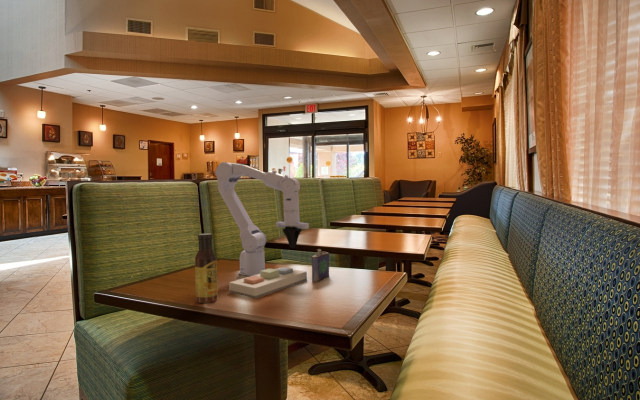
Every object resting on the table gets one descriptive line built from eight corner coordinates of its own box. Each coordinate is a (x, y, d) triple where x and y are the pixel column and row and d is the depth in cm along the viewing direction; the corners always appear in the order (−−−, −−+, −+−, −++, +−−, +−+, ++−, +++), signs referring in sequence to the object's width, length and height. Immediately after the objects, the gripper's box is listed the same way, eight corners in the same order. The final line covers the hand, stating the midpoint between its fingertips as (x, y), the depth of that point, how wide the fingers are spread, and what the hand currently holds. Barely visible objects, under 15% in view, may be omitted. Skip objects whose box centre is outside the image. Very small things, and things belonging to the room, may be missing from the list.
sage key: (260, 279, 122) (260, 271, 122) (269, 276, 126) (269, 268, 125) (269, 281, 119) (269, 272, 119) (279, 278, 123) (278, 269, 123)
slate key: (275, 277, 128) (275, 269, 128) (284, 275, 131) (283, 267, 131) (284, 279, 125) (284, 271, 125) (293, 276, 128) (293, 268, 128)
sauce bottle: (211, 304, 105) (208, 235, 104) (191, 303, 107) (188, 235, 106) (222, 297, 112) (219, 232, 111) (203, 296, 113) (200, 232, 112)
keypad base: (229, 292, 117) (229, 282, 117) (281, 276, 136) (281, 267, 136) (255, 298, 109) (254, 288, 109) (306, 280, 128) (306, 271, 128)
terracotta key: (244, 287, 117) (243, 278, 116) (254, 284, 120) (254, 275, 120) (253, 289, 114) (253, 280, 114) (263, 286, 117) (263, 277, 117)
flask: (316, 282, 125) (315, 251, 125) (309, 281, 127) (308, 251, 126) (331, 276, 133) (330, 247, 132) (324, 275, 134) (323, 246, 134)
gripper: (269, 211, 136) (271, 247, 137) (299, 212, 128) (300, 250, 128) (282, 209, 142) (284, 244, 143) (312, 210, 133) (313, 247, 134)
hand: (292, 247), depth 136 cm, fingers closed
